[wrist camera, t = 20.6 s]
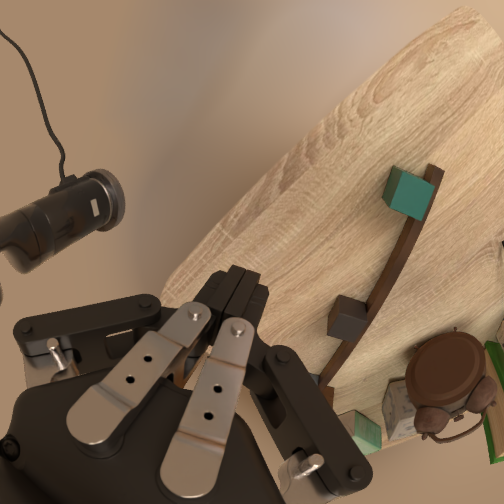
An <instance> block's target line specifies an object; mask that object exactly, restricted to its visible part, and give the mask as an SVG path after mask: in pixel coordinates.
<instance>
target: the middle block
mask: <svg viewBox="0 0 504 504" xmlns="http://www.w3.org/2000/svg"><path fill="white" fill-rule="evenodd" d="M367 322H368V321H367V313H366V305H365V303H363V302H360V301H357V300H354V299H351V298H348V297H345V296H342V295H339V296H338V298H337V300H336V302H335V304H334V306H333V307H332V309H331V311H330V313H329V315H328V325H327V335H328V336H331V337H335V338H338V339H341V340H345V341H348V342H352V343H354V342H355V341H356V339H357V338H358V336H359V335H360V333H361V331H362V330H363V328H364V327H365V325H366V324H367Z"/></svg>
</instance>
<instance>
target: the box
mask: <svg viewBox="0 0 504 504" xmlns="http://www.w3.org/2000/svg"><path fill="white" fill-rule="evenodd" d="M338 418H339V419H340V421H341V422H342V424H343V425H344V427H345V428H346V430H347V431H348V433H349V434H350V436H351V437H352V439H353V440H354V442H355V443H356V444H357V446H358V447H359V449H360V450H361V452H362V453H363V455H368V454H371V453H374V452H377V451H379V450H381V428H380V426H378V425H377V424H375V423H374V422H372V421H371V420H369V419H368V418H366V417H364V416H363V415H361V414H359V413H358V412H356V411H355V410H353V411H350V412H347V413H344V414H342V415H339V416H338Z"/></svg>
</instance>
